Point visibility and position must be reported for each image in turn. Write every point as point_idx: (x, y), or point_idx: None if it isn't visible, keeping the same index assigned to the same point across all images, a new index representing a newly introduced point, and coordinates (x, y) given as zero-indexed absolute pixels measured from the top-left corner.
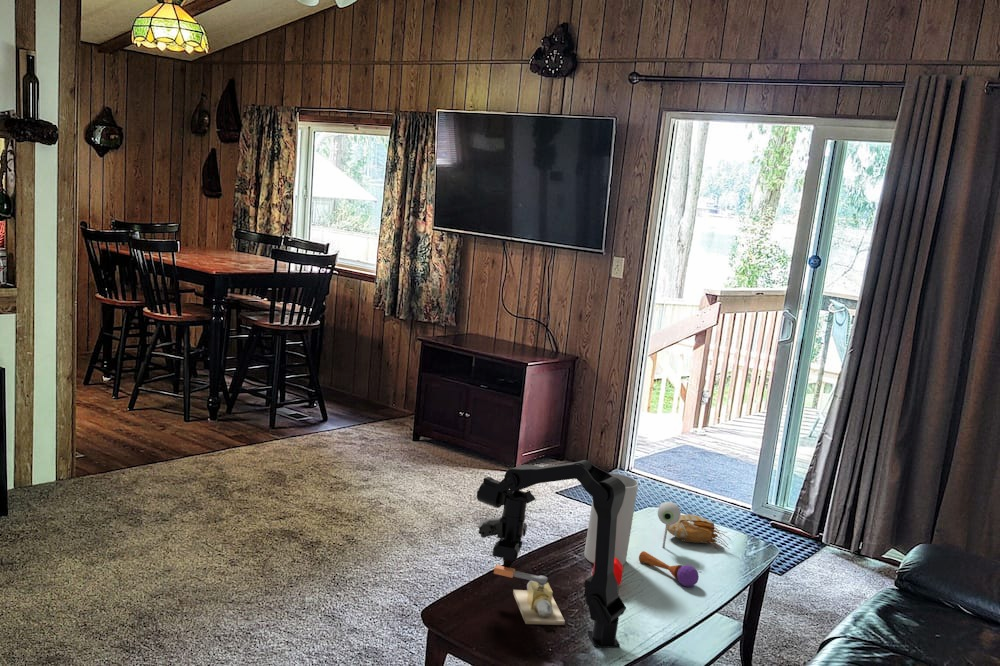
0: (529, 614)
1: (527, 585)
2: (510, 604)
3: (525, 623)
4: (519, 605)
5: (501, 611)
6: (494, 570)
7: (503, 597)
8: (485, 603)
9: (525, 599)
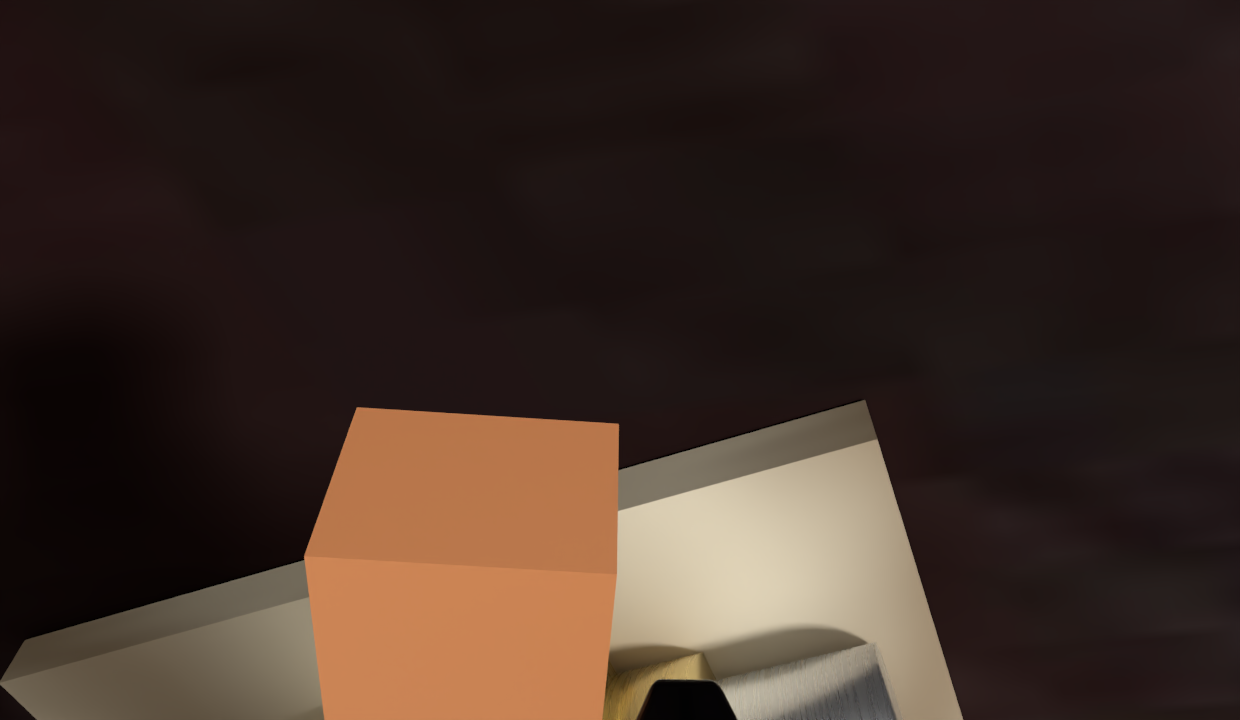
0: (182, 699)
1: (856, 707)
2: None
3: (23, 642)
4: None
5: (143, 334)
6: (330, 489)
7: (654, 287)
8: (247, 28)
9: None
